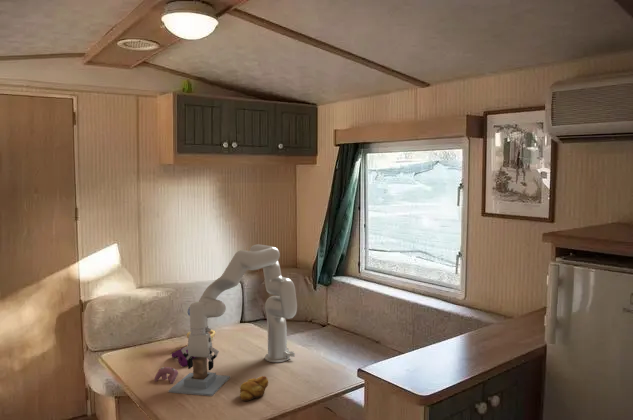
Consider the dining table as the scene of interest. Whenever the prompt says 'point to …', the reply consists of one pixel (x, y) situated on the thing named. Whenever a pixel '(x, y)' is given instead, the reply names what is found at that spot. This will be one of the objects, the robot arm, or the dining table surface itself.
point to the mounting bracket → (181, 357)
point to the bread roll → (253, 388)
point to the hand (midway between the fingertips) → (200, 368)
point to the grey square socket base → (200, 384)
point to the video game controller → (164, 372)
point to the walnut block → (200, 368)
